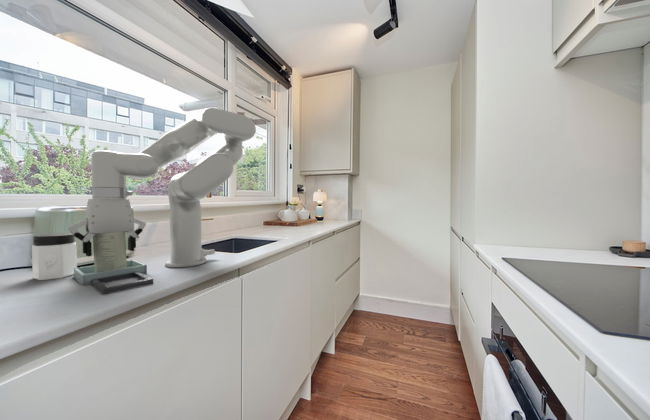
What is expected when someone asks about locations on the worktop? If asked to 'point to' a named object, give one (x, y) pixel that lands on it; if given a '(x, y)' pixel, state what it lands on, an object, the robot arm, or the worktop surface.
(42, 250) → the jar
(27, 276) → the worktop surface
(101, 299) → the worktop surface
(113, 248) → the skincare box
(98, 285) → the dark grey rectangular frame
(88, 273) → the tray
